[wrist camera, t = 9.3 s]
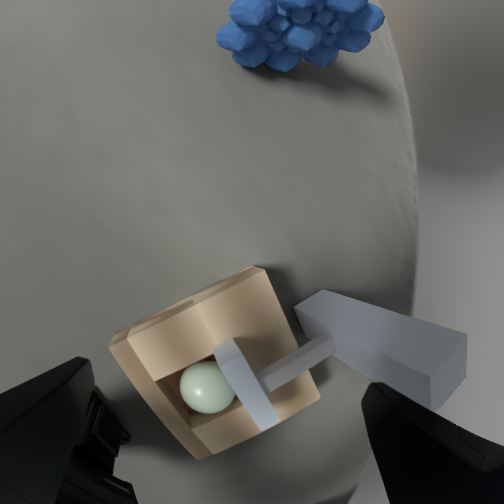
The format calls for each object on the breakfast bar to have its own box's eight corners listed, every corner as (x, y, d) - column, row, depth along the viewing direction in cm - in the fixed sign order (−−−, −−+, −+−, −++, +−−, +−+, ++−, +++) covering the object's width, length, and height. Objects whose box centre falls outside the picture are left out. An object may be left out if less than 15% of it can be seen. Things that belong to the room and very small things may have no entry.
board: (193, 439, 20) (197, 460, 17) (115, 332, 18) (108, 347, 15) (305, 382, 23) (320, 397, 20) (251, 265, 21) (264, 269, 18)
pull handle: (239, 391, 21) (315, 517, 8) (205, 333, 20) (266, 466, 7) (338, 332, 23) (464, 394, 10) (317, 273, 22) (465, 307, 9)
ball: (255, 398, 18) (226, 383, 21) (230, 356, 17) (204, 345, 20) (212, 432, 15) (189, 410, 19) (181, 391, 15) (162, 373, 18)
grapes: (319, 42, 22) (386, -24, 10) (333, 93, 22) (421, 33, 11) (206, 29, 19) (239, -70, 7) (210, 85, 19) (253, -25, 8)
